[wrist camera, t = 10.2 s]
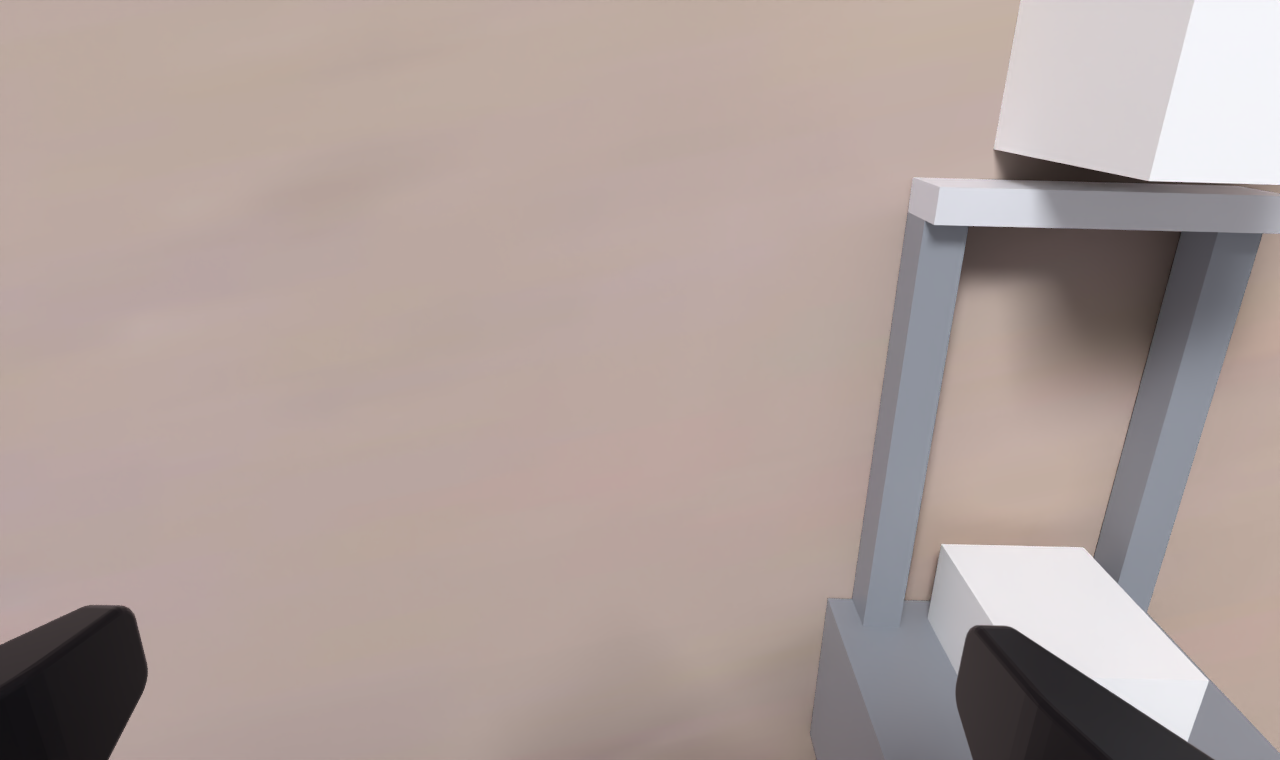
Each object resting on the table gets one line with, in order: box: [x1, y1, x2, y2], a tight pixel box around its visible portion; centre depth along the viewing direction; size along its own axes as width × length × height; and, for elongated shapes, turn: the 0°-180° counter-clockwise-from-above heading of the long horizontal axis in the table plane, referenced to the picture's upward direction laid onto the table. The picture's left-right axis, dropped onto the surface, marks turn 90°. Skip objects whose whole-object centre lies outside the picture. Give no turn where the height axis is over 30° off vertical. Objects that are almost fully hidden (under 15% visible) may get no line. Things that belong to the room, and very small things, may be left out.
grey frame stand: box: [810, 177, 1280, 760], centre depth 19 cm, size 17×9×6 cm, turn 179°
